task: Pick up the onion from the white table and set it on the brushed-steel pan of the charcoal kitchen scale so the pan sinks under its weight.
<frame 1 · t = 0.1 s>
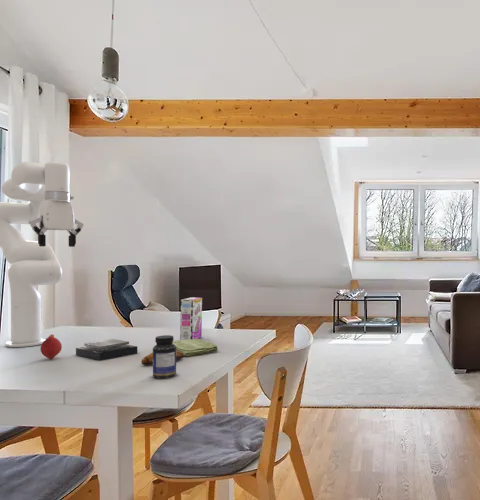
hand: (57, 246, 167), 37 cm above the table, tool pointing down, fingers open, 9 cm apart
candy bar box: (191, 340, 188), on the table
pill bottle: (164, 376, 133), on the table
croissant: (163, 363, 149), on the table
scale: (106, 354, 162), on the table
onion: (51, 359, 155), on the table
washcloth: (191, 351, 167), on the table
scale pan: (106, 343, 162), point 4 cm above the table, slide at 0.0 cm
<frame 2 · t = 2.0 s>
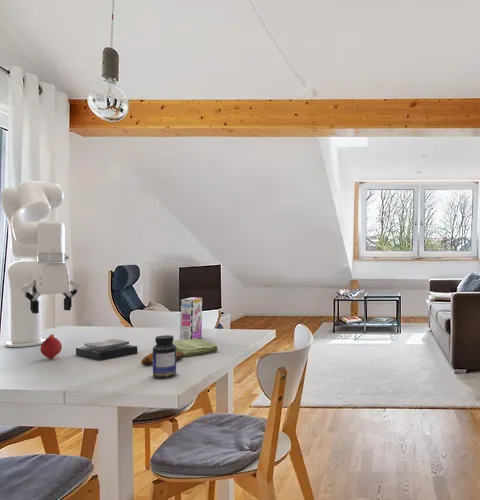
hand: (51, 311, 155), 15 cm above the table, tool pointing down, fingers open, 9 cm apart
nothing on the table moved.
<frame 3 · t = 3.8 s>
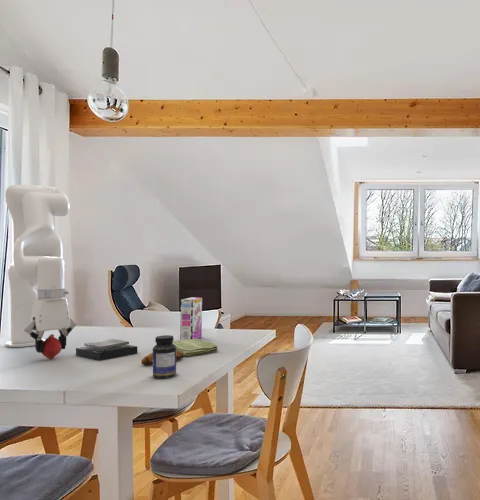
hand: (51, 349, 155), 3 cm above the table, tool pointing down, fingers closed on onion, 5 cm apart
onion: (51, 359, 155), on the table, touching gripper
everything else where it was.
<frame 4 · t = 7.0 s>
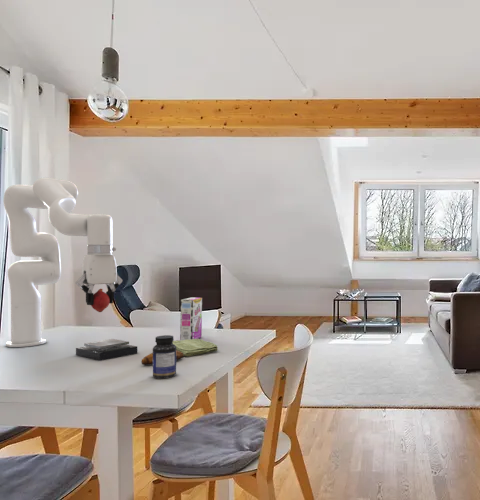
hand: (99, 303, 161), 17 cm above the table, tool pointing down, fingers closed on onion, 5 cm apart
onion: (100, 312, 161), point 14 cm above the table, touching gripper
everything else where it was.
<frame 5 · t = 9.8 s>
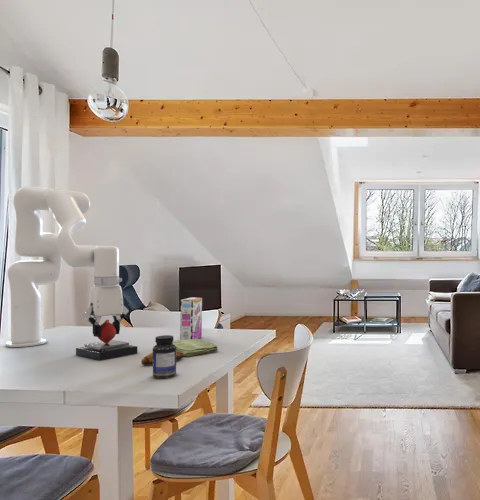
hand: (106, 334, 162), 7 cm above the table, tool pointing down, fingers closed on onion, 5 cm apart
onion: (106, 343, 162), point 3 cm above the table, touching gripper, scale pan
scale pan: (106, 344, 162), point 3 cm above the table, slide at -0.3 cm, touching onion
everything else where it was.
when the fingers open (7 cm above the table, at t = 10.0 s): onion stays where it is, resting on scale pan.
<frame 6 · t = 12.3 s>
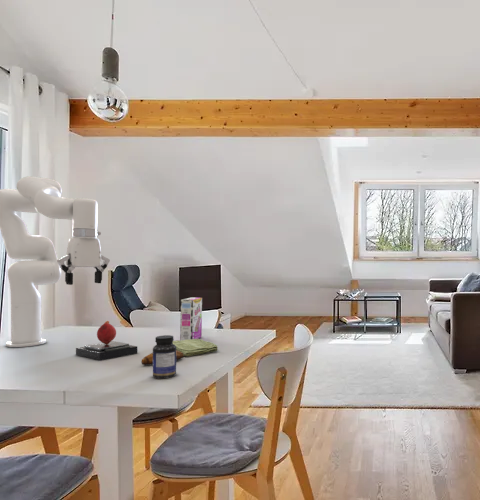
hand: (83, 283, 165), 24 cm above the table, tool pointing down, fingers open, 9 cm apart
onion: (106, 345, 162), point 3 cm above the table, touching scale pan
scale pan: (106, 345, 162), point 3 cm above the table, slide at -0.7 cm, touching onion
everything else where it was.
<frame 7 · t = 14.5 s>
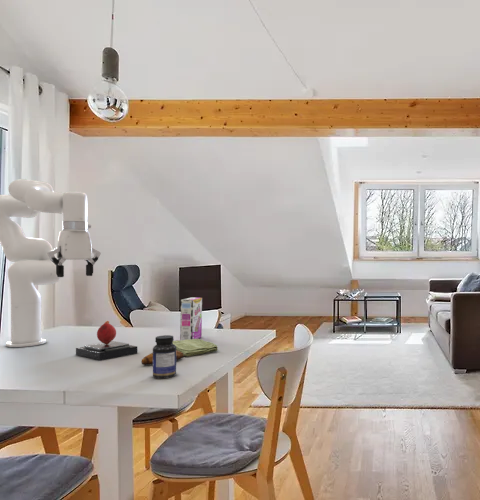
hand: (75, 276, 166), 26 cm above the table, tool pointing down, fingers open, 9 cm apart
nothing on the table moved.
at the end: onion inside the target area on the scale (0.1 cm from its centre), point 3.1 cm above the scale's base; scale pan slide at -0.7 cm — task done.
